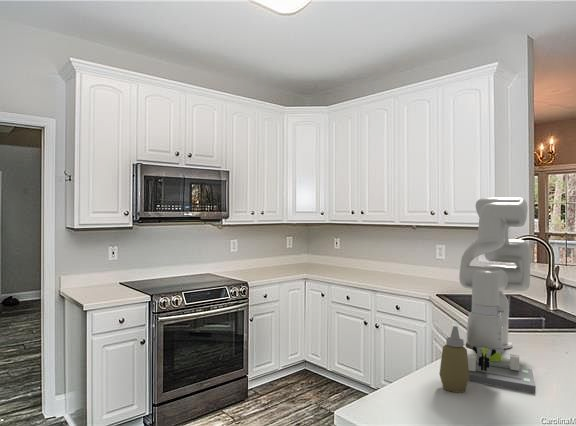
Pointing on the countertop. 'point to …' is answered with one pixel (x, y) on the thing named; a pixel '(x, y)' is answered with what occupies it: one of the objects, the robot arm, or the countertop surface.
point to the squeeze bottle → (454, 363)
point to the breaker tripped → (471, 362)
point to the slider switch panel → (504, 377)
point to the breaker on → (514, 362)
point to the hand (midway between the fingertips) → (483, 369)
